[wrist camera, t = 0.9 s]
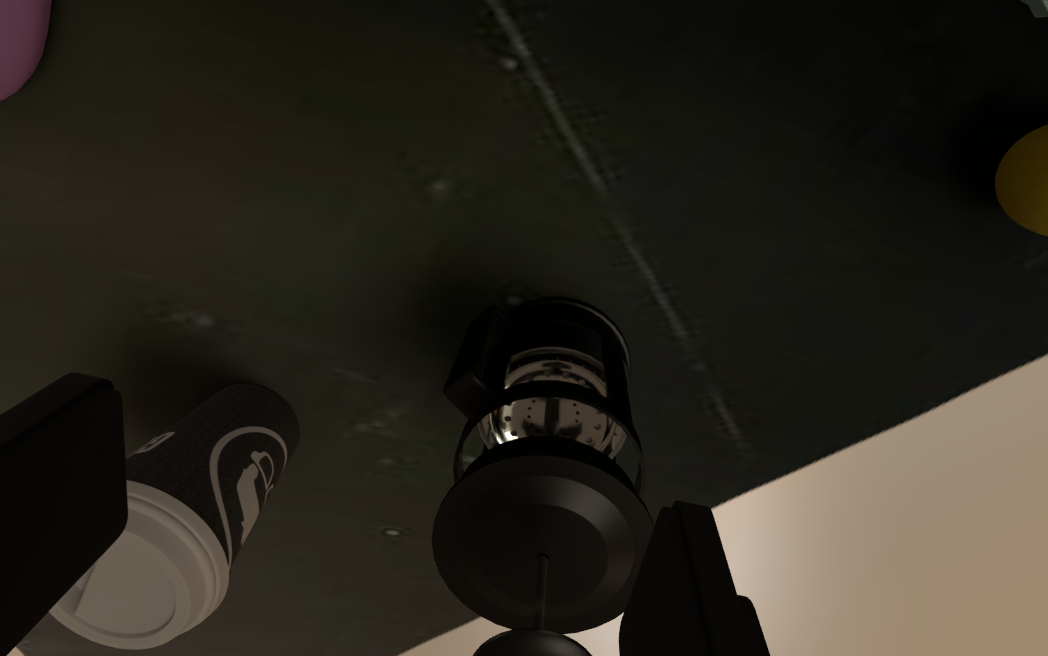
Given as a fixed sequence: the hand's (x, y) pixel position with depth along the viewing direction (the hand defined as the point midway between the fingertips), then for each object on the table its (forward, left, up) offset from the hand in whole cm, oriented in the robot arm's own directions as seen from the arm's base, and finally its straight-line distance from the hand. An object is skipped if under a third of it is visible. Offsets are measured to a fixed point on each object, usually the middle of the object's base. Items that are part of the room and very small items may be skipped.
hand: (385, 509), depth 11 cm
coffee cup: (+17, -17, -28) cm, 38 cm away
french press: (+10, +3, -28) cm, 30 cm away
